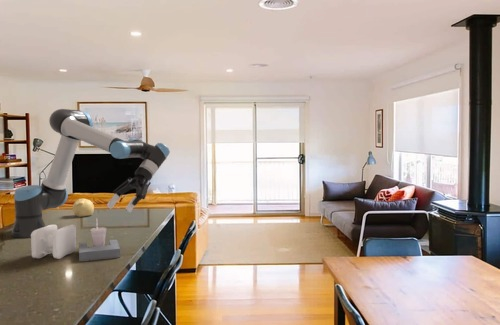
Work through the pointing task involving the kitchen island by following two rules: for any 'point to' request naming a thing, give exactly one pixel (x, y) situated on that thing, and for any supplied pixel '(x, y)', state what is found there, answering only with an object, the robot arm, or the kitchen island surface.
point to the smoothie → (98, 235)
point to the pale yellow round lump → (83, 207)
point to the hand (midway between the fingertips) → (117, 208)
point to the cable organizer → (53, 241)
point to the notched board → (99, 251)
